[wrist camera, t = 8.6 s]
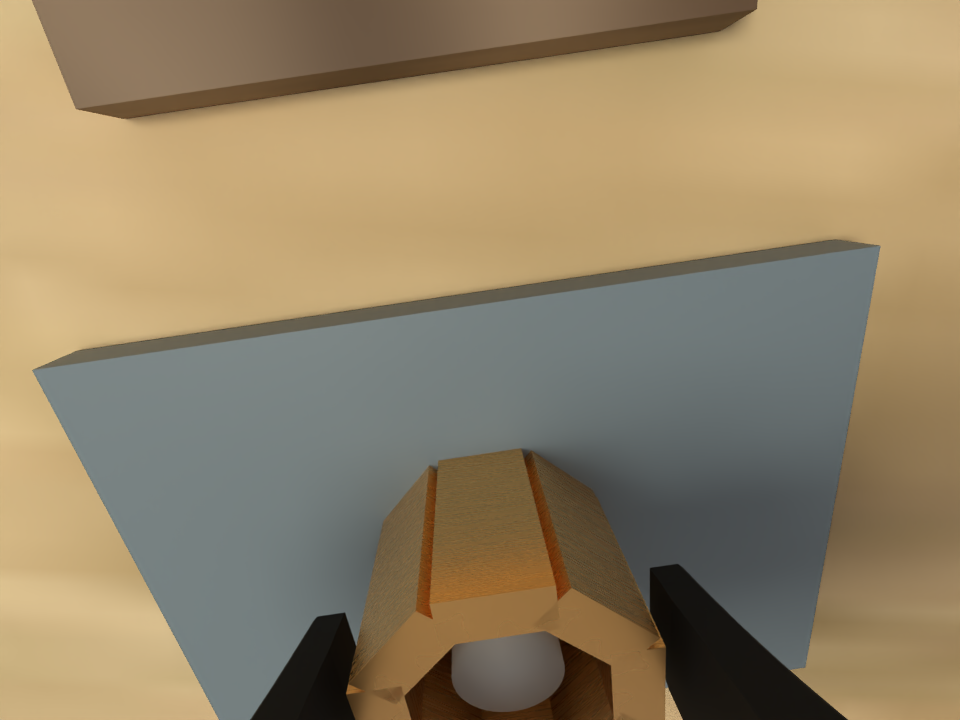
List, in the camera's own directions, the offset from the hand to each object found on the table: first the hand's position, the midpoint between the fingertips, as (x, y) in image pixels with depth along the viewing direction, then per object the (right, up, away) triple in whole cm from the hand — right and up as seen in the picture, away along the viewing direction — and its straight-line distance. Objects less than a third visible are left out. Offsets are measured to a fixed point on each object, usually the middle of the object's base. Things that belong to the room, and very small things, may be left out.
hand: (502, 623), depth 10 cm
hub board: (0, +1, +3) cm, 3 cm away
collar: (0, +1, +2) cm, 2 cm away
